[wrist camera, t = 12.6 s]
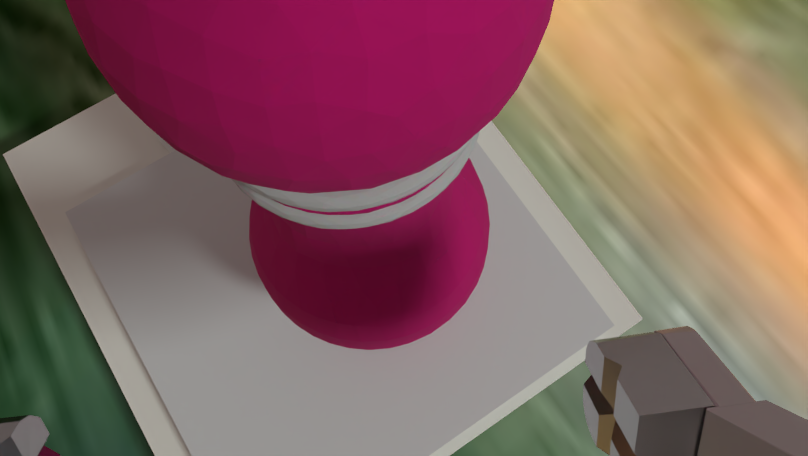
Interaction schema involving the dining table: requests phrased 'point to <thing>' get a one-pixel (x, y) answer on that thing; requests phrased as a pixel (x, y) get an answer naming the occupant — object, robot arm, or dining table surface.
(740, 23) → the dining table surface
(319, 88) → the pepper mill
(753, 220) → the dining table surface
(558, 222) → the kitchen scale
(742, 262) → the dining table surface
